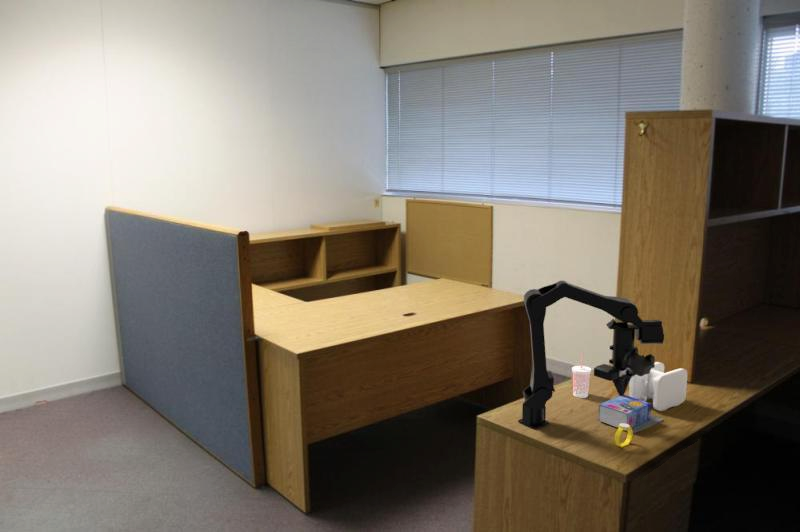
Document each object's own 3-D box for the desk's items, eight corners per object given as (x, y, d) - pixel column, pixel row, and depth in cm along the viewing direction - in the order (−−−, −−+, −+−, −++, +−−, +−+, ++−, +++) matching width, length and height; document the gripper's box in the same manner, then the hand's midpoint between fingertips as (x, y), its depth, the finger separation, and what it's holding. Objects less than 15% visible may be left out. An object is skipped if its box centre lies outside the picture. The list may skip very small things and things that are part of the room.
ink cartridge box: (598, 402, 195) (626, 391, 204) (597, 420, 196) (625, 408, 205) (628, 413, 188) (656, 401, 197) (627, 431, 189) (655, 418, 198)
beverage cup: (584, 390, 221) (585, 350, 218) (594, 397, 215) (595, 355, 212) (567, 392, 219) (568, 351, 217) (577, 399, 213) (578, 357, 211)
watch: (625, 441, 184) (627, 421, 183) (634, 445, 182) (636, 424, 181) (611, 446, 181) (613, 425, 180) (620, 450, 178) (622, 428, 178)
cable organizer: (655, 414, 201) (657, 378, 199) (626, 403, 210) (628, 368, 207) (686, 403, 209) (688, 368, 206) (657, 393, 217) (659, 359, 215)
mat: (632, 433, 188) (632, 432, 188) (597, 420, 198) (597, 418, 198) (664, 420, 196) (664, 419, 196) (629, 407, 206) (629, 406, 206)
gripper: (627, 357, 178) (624, 412, 181) (668, 343, 188) (665, 396, 191) (593, 347, 187) (591, 399, 190) (634, 335, 197) (632, 385, 200)
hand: (621, 395), depth 193 cm, fingers closed
